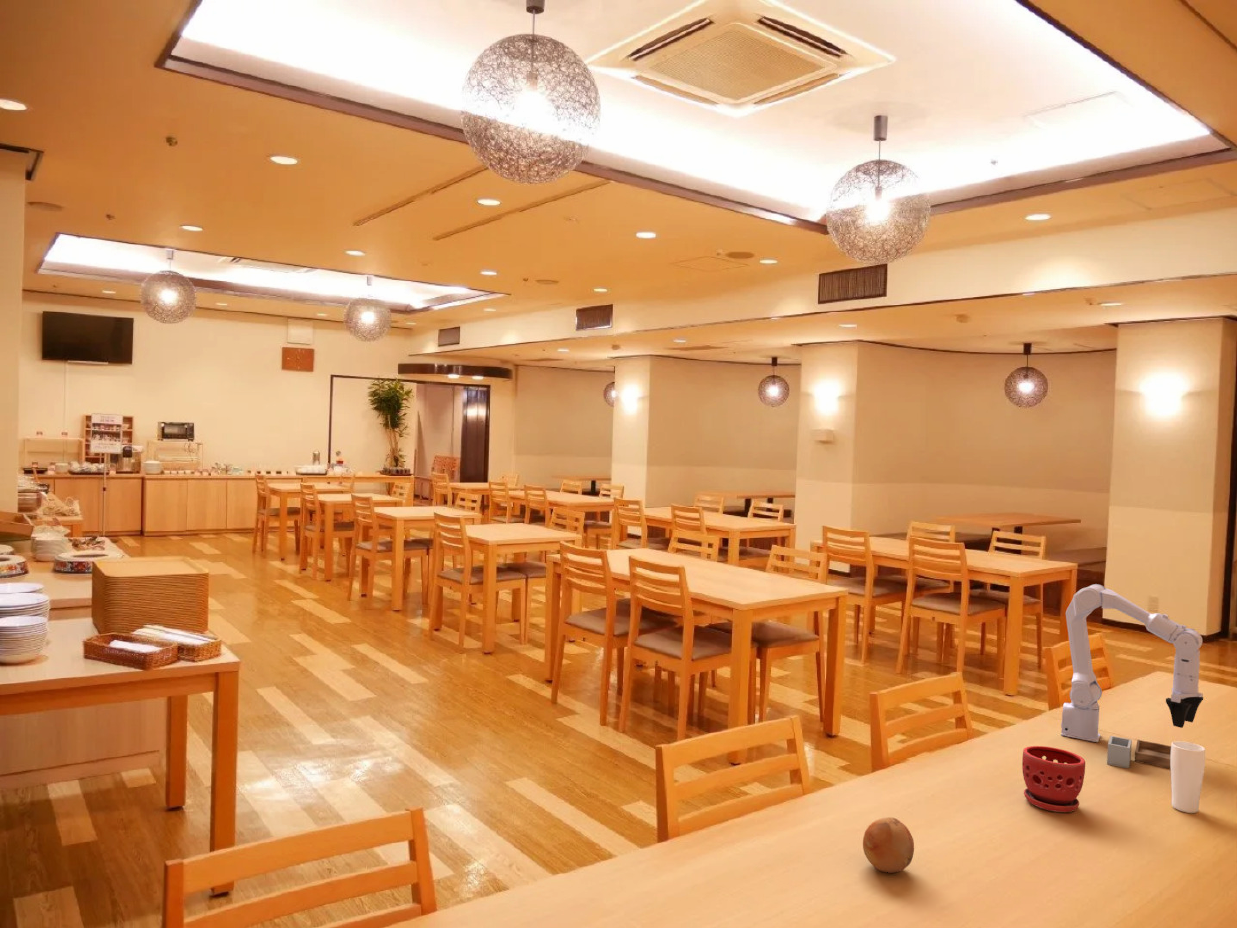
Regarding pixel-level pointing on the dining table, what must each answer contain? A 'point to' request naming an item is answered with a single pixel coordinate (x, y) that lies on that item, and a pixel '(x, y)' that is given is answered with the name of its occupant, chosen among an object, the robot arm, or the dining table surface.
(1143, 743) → the walnut crate
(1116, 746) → the small crate
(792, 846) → the dining table surface
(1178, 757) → the white cup
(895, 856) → the onion
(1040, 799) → the plant pot
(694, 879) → the dining table surface
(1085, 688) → the robot arm
